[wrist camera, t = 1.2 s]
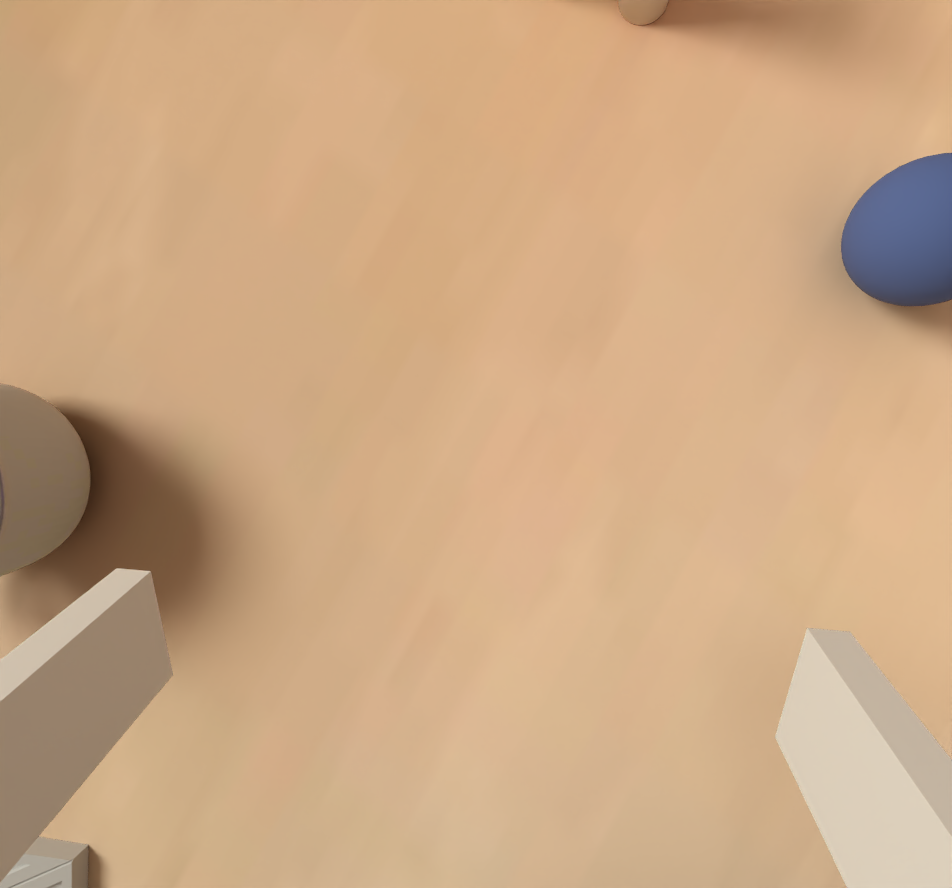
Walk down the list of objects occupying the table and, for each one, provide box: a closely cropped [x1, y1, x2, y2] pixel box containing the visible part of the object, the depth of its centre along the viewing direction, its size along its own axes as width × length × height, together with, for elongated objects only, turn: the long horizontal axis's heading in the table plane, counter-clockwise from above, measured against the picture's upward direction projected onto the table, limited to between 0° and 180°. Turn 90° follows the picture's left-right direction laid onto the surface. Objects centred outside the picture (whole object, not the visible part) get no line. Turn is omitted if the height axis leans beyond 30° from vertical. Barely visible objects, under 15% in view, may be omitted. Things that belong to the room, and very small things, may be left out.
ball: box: [841, 153, 952, 306], centre depth 23 cm, size 6×6×6 cm
